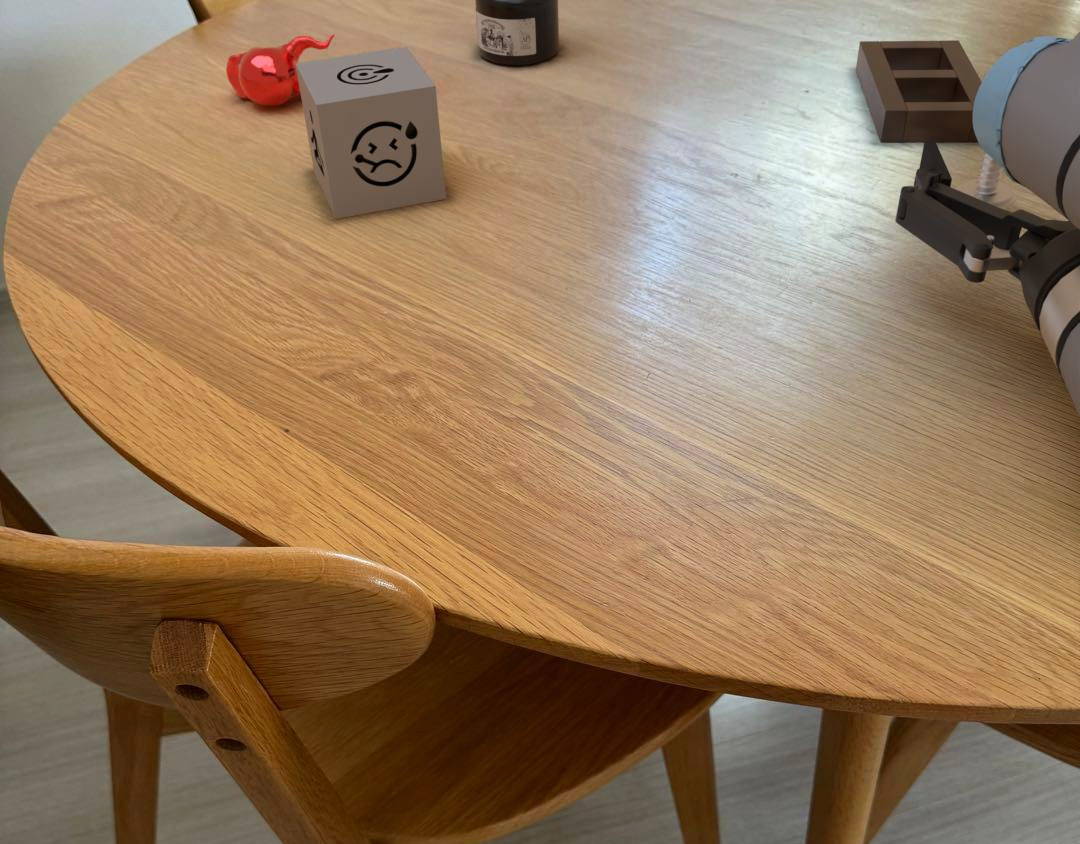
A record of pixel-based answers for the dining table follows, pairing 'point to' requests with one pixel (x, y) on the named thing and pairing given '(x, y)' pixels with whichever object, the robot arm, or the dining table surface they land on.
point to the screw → (989, 185)
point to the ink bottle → (517, 30)
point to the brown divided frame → (919, 90)
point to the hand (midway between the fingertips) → (1018, 157)
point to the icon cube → (372, 131)
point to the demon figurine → (270, 71)
